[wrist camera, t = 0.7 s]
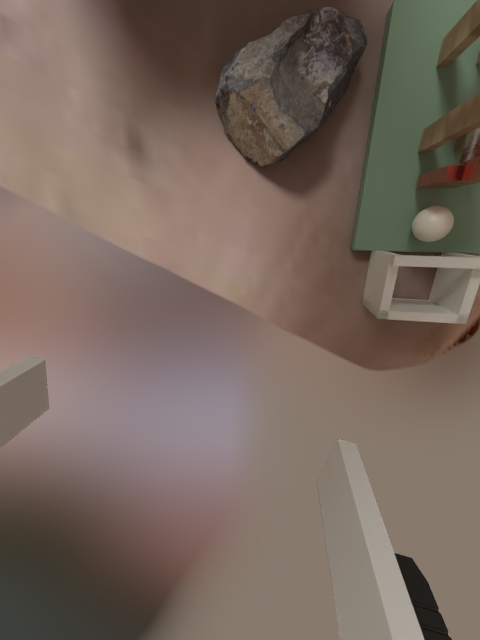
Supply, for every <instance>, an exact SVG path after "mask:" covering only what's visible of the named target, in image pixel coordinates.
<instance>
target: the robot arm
mask: <svg viewBox="0 0 480 640" xmlns="http://www.w3.org/2000/svg"><path fill="white" fill-rule="evenodd" d="M48 409H49V402H48V389H47V377H46V365H45V360H43V359H39V358H35V357H32V356H28V357H26V358H24V359H22V360H20V361H18V362H17V363H15V364H13V365H11V366H9V367H7V368H5V369H3V370H2V371H0V448H1V447H3V446H4V445H5V444H6V443H7V442H8V441H10V440H11V439H12V438H14V437H15V436H16V435H17V434H18V433H20V432H21V431H22V430H23V429H25V428H26V427H27V426H28V425H30V424H31V423H32V422H33V421H34V420H36V419H37V418H38V417H39V416H41V415H42V414H43V413H44V412H45V411H47V410H48ZM317 487H318V494H319V501H320V508H321V514H322V521H323V528H324V535H325V542H326V549H327V555H328V562H329V569H330V576H331V583H332V589H333V596H334V603H335V609H336V616H337V623H338V630H339V637H340V640H452V639H451V638H450V637H449V636H448V630H447V627H446V625H445V623H444V620H443V618H442V616H441V614H440V613H439V611H438V606H437V603H436V601H435V599H434V596H433V594H432V591H431V589H430V586H429V584H428V582H427V580H426V579H425V577H424V576H423V574H422V573H421V571H420V570H419V568H418V567H417V565H416V564H415V562H414V561H413V559H412V558H409V557H406V556H403V555H399V554H396V553H394V551H393V548H392V545H391V543H390V540H389V537H388V534H387V531H386V528H385V525H384V523H383V520H382V517H381V514H380V511H379V508H378V505H377V503H376V500H375V497H374V494H373V491H372V488H371V485H370V482H369V480H368V477H367V474H366V471H365V468H364V465H363V462H362V459H361V457H360V454H359V451H358V448H357V445H356V443H352V442H348V441H344V440H341V439H337V441H336V443H335V446H334V448H333V450H332V452H331V454H330V456H329V458H328V460H327V463H326V465H325V467H324V469H323V471H322V473H321V475H320V477H319V480H318V482H317Z"/></svg>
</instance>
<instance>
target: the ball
mask: <svg viewBox="0 0 480 640" xmlns="http://www.w3.org/2000/svg"><path fill="white" fill-rule="evenodd" d="M453 224H454V217H453V214H452V212H451V211H450V210H449V209H447V208H445V207H442V206H432V207H428V208H426V209H424V210H422V211H421V212H420V213H418V214H417V216H416V217H415V218H414V220H413V223H412V232H413V234H414V236H415V237H416V238H417V239H419V240H421V241H424V242H434V241H437V240H440V239H442V238H443V237H445V236H446V235H447V234H448V233H449V232H450V230H451V229H452V227H453Z"/></svg>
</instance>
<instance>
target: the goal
mask: <svg viewBox="0 0 480 640" xmlns="http://www.w3.org/2000/svg"><path fill="white" fill-rule="evenodd" d="M399 266H409V267H437V271H436V274H435V278H434V282H433V285H432V289H431V293H430V296H429V300H423V299H402V298H392V295H393V291H394V286H395V282H396V277H397V273H398V268H399ZM479 284H480V256H475V255H468V254H462V253H441V256H413V255H400V254H395V253H391V252H387V251H371V256H370V261H369V267H368V272H367V278H366V283H365V289H364V294H363V299H362V305H363V306H364V307H366V308H367V309H368V310H369V311H370V312H371V313H372V314H373V315H374V316H375V317H376V318H377V319H388V320H405V321H422V322H439V323H456V324H466V323H467V320H468V317H469V314H470V311H471V308H472V305H473V302H474V299H475V296H476V293H477V290H478V287H479Z"/></svg>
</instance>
